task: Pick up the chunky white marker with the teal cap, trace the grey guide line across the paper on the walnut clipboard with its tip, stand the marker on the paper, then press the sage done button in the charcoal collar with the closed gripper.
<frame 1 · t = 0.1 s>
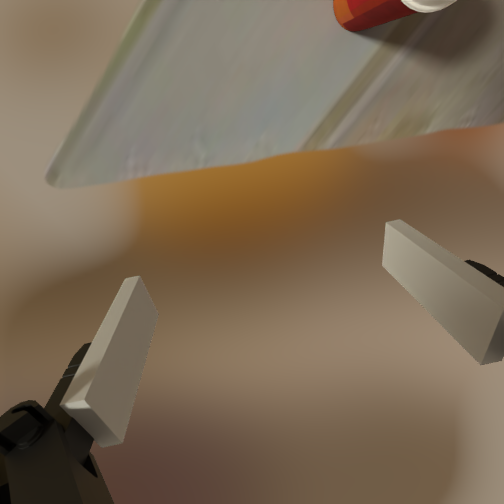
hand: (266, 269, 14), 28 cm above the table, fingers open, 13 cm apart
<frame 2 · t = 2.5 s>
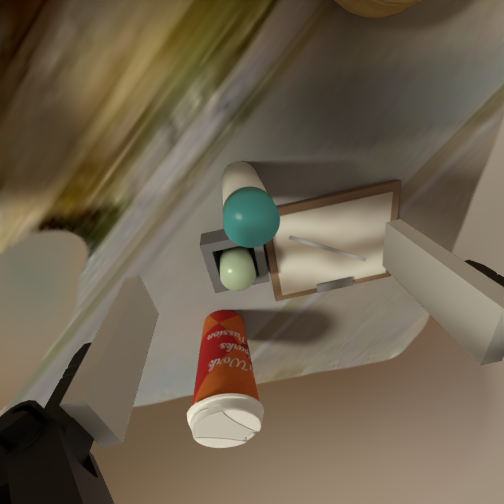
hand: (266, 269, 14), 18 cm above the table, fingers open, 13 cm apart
drawing board: (330, 244, 35), on the table
coffee cup: (223, 323, 41), on the table
button housing: (235, 251, 34), on the table
marker: (239, 179, 30), on the table
done button: (237, 267, 31), point 4 cm above the table, slide at 0.0 cm
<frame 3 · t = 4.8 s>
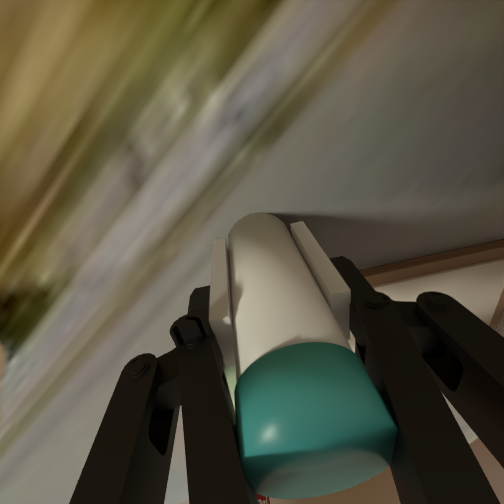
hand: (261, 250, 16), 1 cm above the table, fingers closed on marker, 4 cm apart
drawing board: (395, 328, 23), on the table
marker: (259, 242, 17), on the table, touching gripper
done button: (252, 385, 18), point 4 cm above the table, slide at 0.0 cm
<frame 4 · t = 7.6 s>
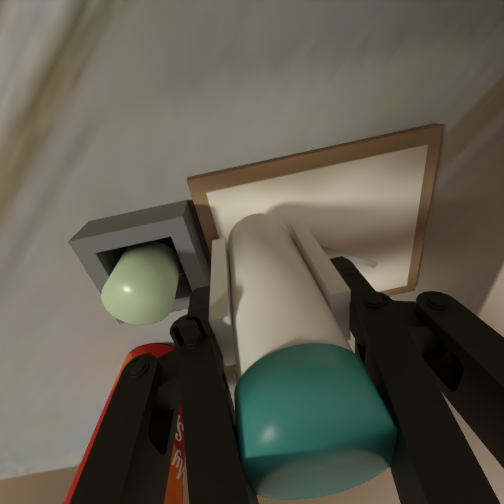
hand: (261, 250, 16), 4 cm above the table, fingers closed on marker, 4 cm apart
drawing board: (317, 240, 21), on the table
coffee cup: (156, 361, 27), on the table
button housing: (156, 252, 20), on the table
marker: (259, 242, 17), point 3 cm above the table, touching gripper
done button: (145, 281, 17), point 4 cm above the table, slide at 0.0 cm
when the fingers open (3 cm above the table, at t = 10.9 s): marker stays where it is, resting on drawing board.
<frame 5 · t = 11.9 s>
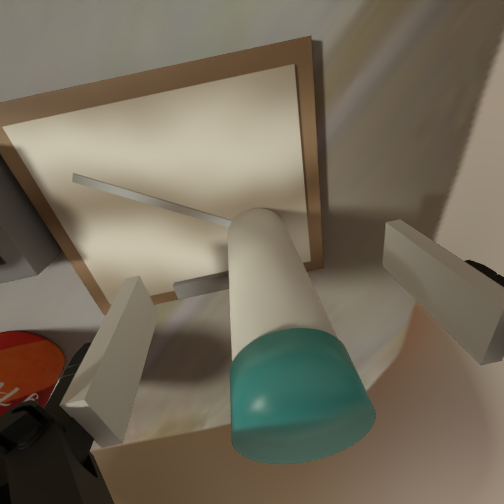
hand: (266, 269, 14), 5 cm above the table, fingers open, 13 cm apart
drawing board: (186, 201, 17), on the table
coffee cup: (26, 353, 22), on the table
marker: (257, 236, 18), point 1 cm above the table, touching drawing board
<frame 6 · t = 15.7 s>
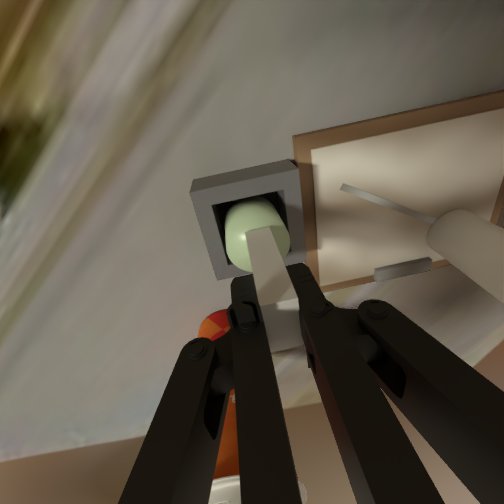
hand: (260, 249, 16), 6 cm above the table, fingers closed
drawing board: (401, 203, 22), on the table
coffee cup: (228, 329, 27), on the table
button housing: (249, 213, 21), on the table
marker: (450, 231, 23), point 1 cm above the table, touching drawing board
done button: (254, 232, 18), point 3 cm above the table, slide at 0.2 cm, touching gripper
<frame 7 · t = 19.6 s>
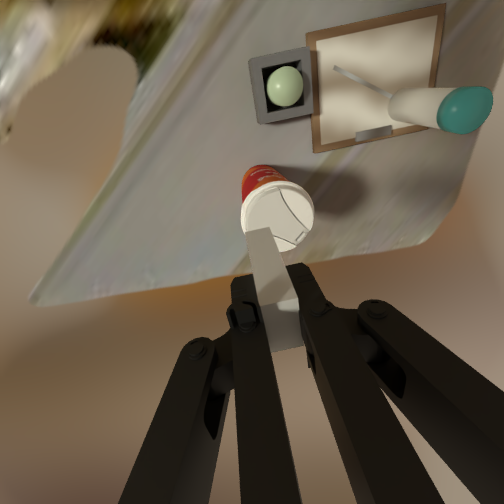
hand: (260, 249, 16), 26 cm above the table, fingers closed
drawing board: (370, 85, 36), on the table
coffee cup: (260, 183, 41), on the table
button housing: (278, 88, 35), on the table
marker: (402, 104, 37), point 1 cm above the table, touching drawing board
done button: (283, 87, 33), point 3 cm above the table, slide at 1.0 cm
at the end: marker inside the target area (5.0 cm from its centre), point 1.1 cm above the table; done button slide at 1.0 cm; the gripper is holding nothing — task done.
